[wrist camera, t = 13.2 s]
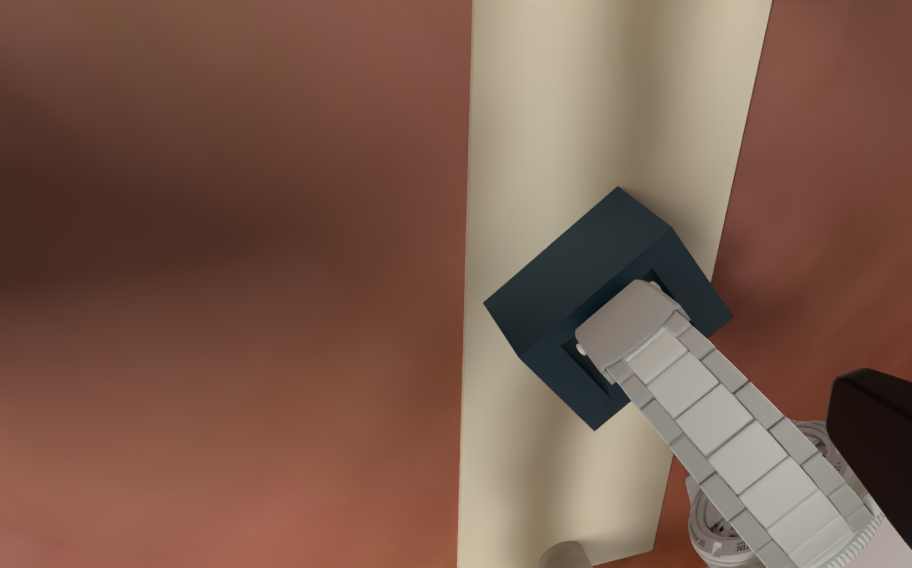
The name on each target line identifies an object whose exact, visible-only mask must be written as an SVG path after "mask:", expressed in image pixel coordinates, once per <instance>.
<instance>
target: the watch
mask: <svg viewBox="0 0 912 568" xmlns="http://www.w3.org/2000/svg"><path fill="white" fill-rule="evenodd" d="M483 304H484V306H485V307H486V309H487V310H488V312H489V313H490V315H491V316H492V318H493V319H494V321H495V323H496V324H497V326H498V327H499V329H500V330H501V332H502V333H503V335H504V336H505V338H506V339H507V341H508V342H509V344H510V345H511V347H512V349H513V350H514V352H515V353H516V355H517V356H518V358H519V359H520V360H521V361H522V362H523V363H524V364H525V365H526V366H527V367H529V368H530V369H531V370H532V371H533V372H534V373H535V374H536V375H537V376H538V377H539V378H540V379H541V380H542V381H543V382H544V383H545V384H546V385H547V386H548V387H549V388H550V389H551V390H552V391H553V392H554V393H555V394H556V395H557V396H558V397H559V398H560V399H561V400H562V401H563V402H564V403H566V404H567V405H568V406H569V407H570V408H571V409H572V410H573V411H574V412H575V413H576V414H577V415H578V416H579V417H580V418H581V419H582V420H583V421H584V422H585V423H586V424H587V425H588V426H589V427H590V428H591V429H592V430H593V431H594V432H595V431H596V430H597V429H598V428H599V427H601V426H602V425H603V424H604V423H605V422H607V421H608V420H609V419H610V418H612V417H613V416H614V415H615V414H616V413H618V412H619V411H620V410H621V409H622V408H624V407H625V406H626V405H627V404H629V403H630V402H631V401H632V402H633V403H634V405H635V406H636V407H637V409H638V410H639V411H640V412H642V414H643V415H644V416H645V417H646V419H647V420H648V421H649V423H650V424H651V425H652V426H653V428H654V429H655V430H656V431H657V433H658V434H659V435H660V436H661V438H662V439H663V440H664V441H665V443H666V444H667V445H670V444H671V443H672V445H671V446H670V449H671V450H672V451H673V452H674V454H675V455H676V456H677V458H678V459H679V460H680V461H681V463H682V464H683V465H684V467H685V468H686V469H687V470H688V472H689V473H690V474H691V475H690V476H688V477H687V478H686V488H687V492H688V496H689V500H690V504H691V513H690V516H689V518H688V531H689V535H690V539H691V542H692V545H693V547H694V549H695V550H696V552H697V553H698V554H699V555H700V557H701V558H702V559H703V560H704V561H705V562H706V563H707V564H708V566H709V568H842V567H843V566H845V565H847V563H848V562H850V561H851V560H852V559H853V558H855V556H856V555H857V554H859V553H860V551H861V550H862V549H863V548H864V546H866V545H867V543H868V542H869V541H870V539H871V538H872V537H873V536H874V533H875V532H876V530H877V529H878V528H879V525H880V524H881V521H882V520H883V518H884V517H883V516H884V513H883V512H882V511H881V509H880V508H879V507H878V505H877V504H876V502H875V501H874V500H873V498H872V497H871V496H870V494H869V493H868V491H867V490H866V489H865V487H864V486H863V485H862V483H861V482H860V480H859V479H858V478H857V476H856V475H855V474H854V472H853V471H852V469H851V468H850V467H849V465H848V464H847V463H846V461H845V460H844V458H843V457H842V456H841V454H840V453H839V452H838V450H837V449H836V447H835V446H834V445H833V443H832V442H831V440H830V438H829V436H828V434H827V431H826V426H825V421H817V420H811V421H806V422H804V421H799V422H798V421H794V420H792V419H789V418H787V417H785V416H784V415H783V414H782V413H781V412H780V411H779V410H778V409H777V408H776V407H775V406H774V405H773V404H772V403H771V402H770V401H769V400H768V399H767V398H766V397H765V396H764V395H763V394H762V393H761V392H760V391H759V390H758V389H757V388H756V387H755V386H754V385H753V384H752V383H751V382H749V383H747V382H748V379H747V378H746V377H745V376H744V375H743V374H742V373H741V372H740V371H739V370H738V369H737V368H736V367H735V366H734V365H733V364H732V363H731V362H730V361H729V360H728V359H727V358H726V357H725V356H724V355H723V354H721V353H720V352H719V351H718V350H717V349H716V347H715V346H714V345H713V344H712V343H711V342H710V341H709V340H708V338H709V337H710V336H711V335H712V334H714V333H715V332H716V331H717V330H718V329H720V328H721V327H722V326H723V325H725V324H726V323H727V322H728V321H729V320H731V319H732V318H733V317H734V316H733V315H732V314H731V312H730V311H729V309H728V308H727V306H726V305H725V303H724V302H723V300H722V299H721V298H720V296H719V295H718V293H717V292H716V290H715V289H714V287H713V286H712V284H711V283H710V282H709V280H708V279H707V277H706V276H705V274H704V273H703V271H702V270H701V268H700V267H699V266H698V264H697V263H696V261H695V260H694V258H693V257H692V255H691V254H690V252H689V251H688V250H687V248H686V247H685V245H684V244H683V242H682V241H681V239H680V238H679V236H678V235H677V234H676V232H675V231H674V229H673V228H672V227H671V226H670V225H669V224H667V223H666V222H665V221H663V220H662V219H661V218H659V217H658V216H657V215H655V214H654V213H653V212H651V211H650V210H649V209H648V208H646V207H645V206H644V205H642V204H641V203H640V202H638V201H637V200H636V199H634V198H633V197H632V196H630V195H629V194H628V193H626V192H625V191H624V190H623V189H621V188H620V187H619V186H617V187H616V188H615V189H614V190H612V191H611V192H610V193H609V194H608V195H607V196H605V197H604V198H603V199H602V200H601V201H600V202H599V203H597V204H596V205H595V206H594V207H593V208H592V209H590V210H589V211H588V212H587V213H586V214H585V215H584V216H582V217H581V218H580V219H579V220H578V221H577V222H575V223H574V224H573V225H572V226H571V227H570V228H569V229H567V230H566V231H565V232H564V233H563V234H562V235H560V236H559V237H558V238H557V239H556V240H555V241H554V242H552V243H551V244H550V245H549V246H548V247H547V248H545V249H544V250H543V251H542V252H541V253H540V254H539V255H537V256H536V257H535V258H534V259H533V260H532V261H530V262H529V263H528V264H527V265H526V266H525V267H524V268H522V269H521V270H520V271H519V272H518V273H517V274H515V275H514V276H513V277H512V278H511V279H510V280H509V281H507V282H506V283H505V284H504V285H503V286H502V287H500V288H499V289H498V290H497V291H496V292H495V293H494V294H492V295H491V296H490V297H489V298H488V299H487V300H485V301H484V302H483ZM746 383H747V384H746ZM744 384H746V385H745V386H744V387H742V386H743V385H744ZM717 385H718V386H717ZM716 386H717V387H716ZM741 387H742V388H741ZM739 388H741V389H740V390H739V391H737V390H738V389H739ZM712 389H713V390H712ZM711 390H712V391H711ZM736 391H737V392H736ZM734 392H736V393H735V395H733V393H734ZM659 403H660V404H661V405H662V406H663V407H662V406H661V405H660V404H659ZM744 407H745V408H744ZM666 411H667V412H668V413H667V412H666ZM684 432H685V433H684ZM687 436H688V437H689V438H690V439H689V438H688V437H687ZM693 443H694V444H693ZM695 446H696V447H695ZM699 450H700V451H699ZM705 457H706V458H707V459H706V458H705Z"/></svg>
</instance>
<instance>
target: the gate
mask: <svg viewBox="0 0 912 568" xmlns="http://www.w3.org/2000/svg"><path fill="white" fill-rule="evenodd" d="M771 4H772V0H472V36H471V73H470V110H469V147H468V184H467V221H466V257H465V294H464V331H463V368H462V405H461V442H460V479H459V516H458V553H457V568H593V566H594V565H598V564H602V563H606V562H610V561H614V560H618V559H622V558H625V557H629V556H633V555H637V554H641V553H645V552H649V551H652V550H653V545H654V541H655V536H656V531H657V527H658V522H659V518H660V513H661V508H662V504H663V499H664V495H665V490H666V485H667V481H668V476H669V472H670V467H671V463H672V458H673V453H674V452H673V451H672V450H671V449H670V446H671V445H672V443H671V444H670V445H667V444H666V443H665V441H664V440H663V439H662V438H661V436H660V435H659V434H658V433H657V431H656V430H655V429H654V428H653V426H652V425H651V424H650V423H649V421H648V420H647V419H646V417H645V416H644V415H643V414H642V412H640V411H639V410H638V409H637V407H636V406H635V405H634V403H633V402H632V401H631V402H630V403H629V404H627V405H626V406H625V407H624V408H622V409H621V410H620V411H619V412H618V413H616V414H615V415H614V416H613V417H612V418H610V419H609V420H608V421H607V422H605V423H604V424H603V425H602V426H601V427H599V428H598V429H597V430H596V431H595V432H594V431H593V430H592V429H591V428H590V427H589V426H588V425H587V424H586V423H585V422H584V421H583V420H582V419H581V418H580V417H579V416H578V415H577V414H576V413H575V412H574V411H573V410H572V409H571V408H570V407H569V406H568V405H567V404H566V403H564V402H563V401H562V400H561V399H560V398H559V397H558V396H557V395H556V394H555V393H554V392H553V391H552V390H551V389H550V388H549V387H548V386H547V385H546V384H545V383H544V382H543V381H542V380H541V379H540V378H539V377H538V376H537V375H536V374H535V373H534V372H533V371H532V370H531V369H530V368H529V367H527V366H526V365H525V364H524V363H523V362H522V361H521V360H520V359H519V358H518V356H517V355H516V353H515V352H514V350H513V349H512V347H511V345H510V344H509V342H508V341H507V339H506V338H505V336H504V335H503V333H502V332H501V330H500V329H499V327H498V326H497V324H496V323H495V321H494V319H493V318H492V316H491V315H490V313H489V312H488V310H487V309H486V307H485V306H484V304H483V302H484V301H485V300H487V299H488V298H489V297H490V296H491V295H492V294H494V293H495V292H496V291H497V290H498V289H499V288H500V287H502V286H503V285H504V284H505V283H506V282H507V281H509V280H510V279H511V278H512V277H513V276H514V275H515V274H517V273H518V272H519V271H520V270H521V269H522V268H524V267H525V266H526V265H527V264H528V263H529V262H530V261H532V260H533V259H534V258H535V257H536V256H537V255H539V254H540V253H541V252H542V251H543V250H544V249H545V248H547V247H548V246H549V245H550V244H551V243H552V242H554V241H555V240H556V239H557V238H558V237H559V236H560V235H562V234H563V233H564V232H565V231H566V230H567V229H569V228H570V227H571V226H572V225H573V224H574V223H575V222H577V221H578V220H579V219H580V218H581V217H582V216H584V215H585V214H586V213H587V212H588V211H589V210H590V209H592V208H593V207H594V206H595V205H596V204H597V203H599V202H600V201H601V200H602V199H603V198H604V197H605V196H607V195H608V194H609V193H610V192H611V191H612V190H614V189H615V188H616V187H617V186H619V187H620V188H621V189H623V190H624V191H625V192H626V193H628V194H629V195H630V196H632V197H633V198H634V199H636V200H637V201H638V202H640V203H641V204H642V205H644V206H645V207H646V208H648V209H649V210H650V211H651V212H653V213H654V214H655V215H657V216H658V217H659V218H661V219H662V220H663V221H665V222H666V223H667V224H669V225H670V226H671V227H672V228H673V229H674V231H675V232H676V234H677V235H678V236H679V238H680V239H681V241H682V242H683V244H684V245H685V247H686V248H687V250H688V251H689V252H690V254H691V255H692V257H693V258H694V260H695V261H696V263H697V264H698V266H699V267H700V268H701V270H702V271H703V273H704V274H705V276H706V277H707V279H708V280H709V282H710V283H711V279H712V274H713V270H714V265H715V261H716V256H717V252H718V247H719V242H720V238H721V233H722V229H723V224H724V219H725V215H726V210H727V206H728V201H729V196H730V192H731V187H732V183H733V178H734V174H735V169H736V164H737V160H738V155H739V151H740V146H741V141H742V137H743V132H744V128H745V123H746V118H747V114H748V109H749V105H750V100H751V96H752V91H753V86H754V82H755V77H756V73H757V68H758V63H759V59H760V54H761V50H762V45H763V40H764V36H765V31H766V27H767V22H768V18H769V13H770V8H771ZM659 404H660V403H659ZM660 405H661V404H660ZM661 406H662V405H661ZM662 407H663V406H662ZM666 412H667V411H666ZM667 413H668V412H667Z"/></svg>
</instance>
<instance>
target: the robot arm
mask: <svg viewBox="0 0 912 568" xmlns="http://www.w3.org/2000/svg"><path fill="white" fill-rule="evenodd" d="M825 426H826V431H827V434H828V436H829V438H830V440H831V442H832V443H833V445H834V446H835V447H836V449H837V450H838V452H839V453H840V454H841V456H842V457H843V458H844V460H845V461H846V463H847V464H848V465H849V467H850V468H851V469H852V471H853V472H854V474H855V475H856V476H857V478H858V479H859V480H860V482H861V483H862V485H863V486H864V487H865V489H866V490H867V491H868V493H869V494H870V496H871V497H872V498H873V500H874V501H875V502H876V504H877V505H878V507H879V508H880V509H881V511H882V512H883V513H884V515H885V516H886V517H887V519H888V520H889V521H890V523H891V524H892V526H893V527H894V528H895V530H896V531H897V532H898V533H899V535H900V536H901V537H902V539H903V540H904V541H905V542H906V543H907V545H908V546H909V547H910V548H911V549H912V382H910V381H907V380H904V379H901V378H898V377H895V376H892V375H888V374H885V373H882V372H879V371H876V370H873V369H869V368H861V369H857V370H854V371H851V372H848V373H845V374H842V375H840V376H838V377H837V378H836V379H835V380H834V381H833V384H832V388H831V393H830V398H829V404H828V409H827V415H826V420H825Z"/></svg>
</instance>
